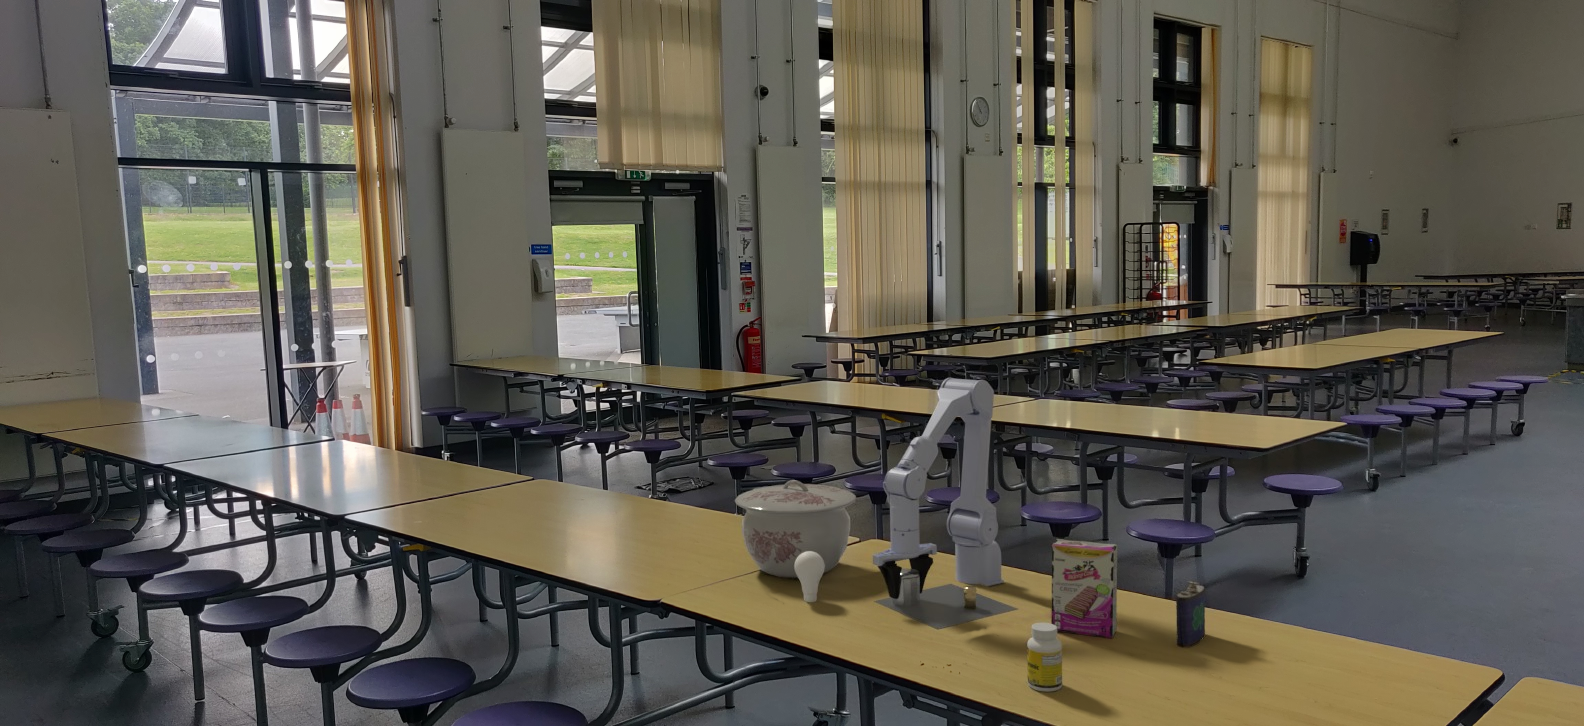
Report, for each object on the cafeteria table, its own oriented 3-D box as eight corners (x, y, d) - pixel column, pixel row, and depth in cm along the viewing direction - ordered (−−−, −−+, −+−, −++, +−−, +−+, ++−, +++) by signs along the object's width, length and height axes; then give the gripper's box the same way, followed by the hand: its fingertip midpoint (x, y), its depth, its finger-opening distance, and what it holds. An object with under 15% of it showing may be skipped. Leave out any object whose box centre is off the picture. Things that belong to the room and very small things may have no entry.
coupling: (908, 595, 208) (907, 566, 208) (925, 602, 204) (924, 573, 203) (886, 600, 206) (886, 571, 205) (903, 607, 201) (902, 577, 200)
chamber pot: (861, 586, 218) (859, 491, 217) (732, 589, 219) (729, 494, 217) (854, 551, 246) (853, 466, 245) (740, 554, 247) (738, 469, 245)
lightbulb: (826, 600, 210) (825, 547, 209) (824, 609, 204) (823, 555, 203) (796, 599, 211) (795, 547, 210) (793, 609, 205) (792, 555, 204)
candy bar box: (1050, 631, 189) (1050, 544, 187) (1055, 623, 193) (1055, 537, 192) (1113, 639, 184) (1114, 549, 182) (1117, 630, 188) (1117, 543, 187)
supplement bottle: (1023, 680, 167) (1022, 621, 166) (1055, 678, 167) (1055, 619, 166) (1033, 693, 161) (1033, 633, 160) (1067, 691, 162) (1067, 631, 161)
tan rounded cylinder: (971, 604, 202) (971, 584, 202) (979, 607, 200) (979, 587, 200) (960, 607, 201) (959, 587, 200) (968, 610, 199) (968, 590, 198)
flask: (1193, 631, 187) (1194, 573, 186) (1209, 634, 185) (1210, 576, 184) (1173, 645, 180) (1173, 586, 179) (1189, 649, 178) (1190, 589, 177)
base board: (951, 588, 216) (950, 583, 216) (1018, 613, 199) (1018, 608, 199) (873, 605, 206) (873, 601, 206) (937, 634, 189) (937, 629, 188)
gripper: (920, 518, 211) (921, 583, 212) (863, 529, 203) (864, 596, 204) (943, 525, 205) (943, 591, 206) (884, 536, 197) (885, 605, 198)
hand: (905, 594), depth 205 cm, fingers closed on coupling, 5 cm apart
